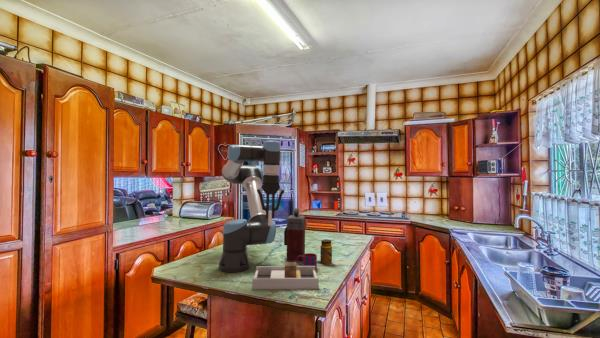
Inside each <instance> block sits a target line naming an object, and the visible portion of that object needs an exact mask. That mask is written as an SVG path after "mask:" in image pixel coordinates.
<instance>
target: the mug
mask: <svg viewBox="0 0 600 338" xmlns="http://www.w3.org/2000/svg"><path fill="white" fill-rule="evenodd" d="M299 256H301V257H302V258H303V262H302V264H301V262H298V257H299ZM299 256H298V257H297V261H296V264H297V265H298V266H315V271H316V270H317V269H318V264H317V261H318V260H317V259H318V257H317V256H318V255H317V253H314V252H307V253H305V254H304V255H303V256H302V255H299Z"/></svg>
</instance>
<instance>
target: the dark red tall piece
mask: <svg viewBox="0 0 600 338" xmlns="http://www.w3.org/2000/svg"><path fill="white" fill-rule="evenodd" d="M299 212H300V210H299V208H298V207H294V208H293V214H291V215H289V216H288V217H287V218H286V227H285V228H284V231H283V245H284V246H286V262H297V257H298V256H299V255H302V256H303V255H304V254H306V253H305V252H306V251H305V250H306V216H305V215H299V214H300V213H299ZM298 262H299V263H301V262H302V263H303V258H302V257H301V256H299V257H298Z"/></svg>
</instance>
